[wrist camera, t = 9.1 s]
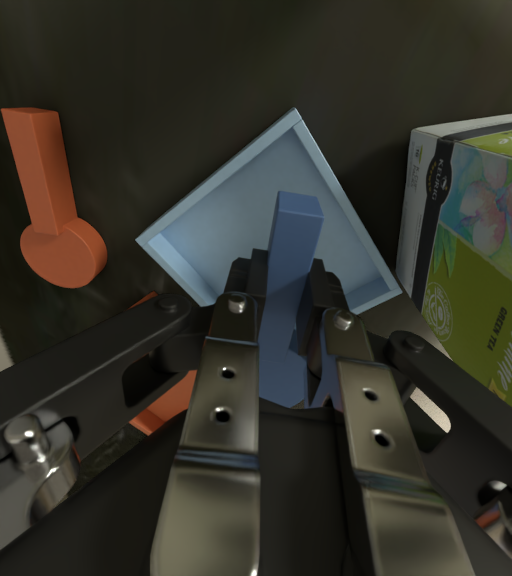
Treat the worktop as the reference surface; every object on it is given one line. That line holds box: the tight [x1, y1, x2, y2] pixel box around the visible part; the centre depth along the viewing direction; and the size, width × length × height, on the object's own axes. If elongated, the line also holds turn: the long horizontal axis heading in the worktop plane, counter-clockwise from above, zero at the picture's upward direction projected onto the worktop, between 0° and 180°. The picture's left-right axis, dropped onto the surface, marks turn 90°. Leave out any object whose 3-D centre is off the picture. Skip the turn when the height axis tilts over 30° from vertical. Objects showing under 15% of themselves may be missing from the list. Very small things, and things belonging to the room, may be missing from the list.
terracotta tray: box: [125, 291, 197, 436], centre depth 28 cm, size 13×12×2 cm
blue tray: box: [135, 107, 402, 330], centre depth 21 cm, size 13×12×2 cm
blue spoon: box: [258, 191, 325, 408], centre depth 14 cm, size 12×5×2 cm, turn 172°
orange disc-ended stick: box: [1, 107, 107, 288], centre depth 20 cm, size 12×5×2 cm, turn 172°
